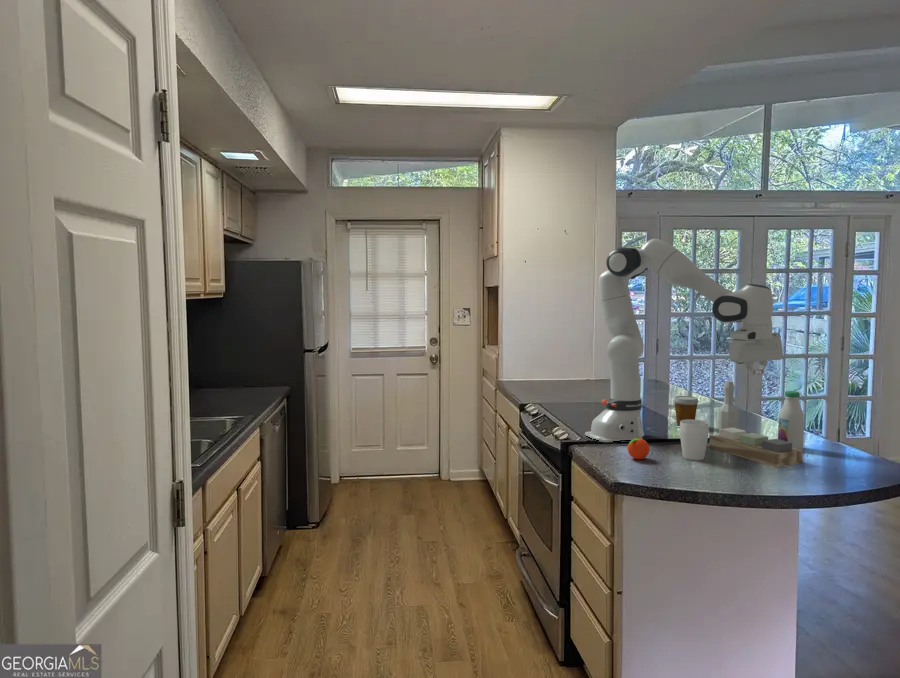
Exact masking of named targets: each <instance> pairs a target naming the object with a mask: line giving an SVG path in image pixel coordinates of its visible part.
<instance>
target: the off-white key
mask: <svg viewBox="0 0 900 678" xmlns="http://www.w3.org/2000/svg"><path fill="white" fill-rule="evenodd" d="M747 433H748V432H747V430H745V429H744V430H743V429H740V428H737V429H736V428H725V429H720V430H719V435H720V437H723V438H727V439H731V440H739V439H740V435H741V434H747Z"/></svg>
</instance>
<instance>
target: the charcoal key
mask: <svg viewBox="0 0 900 678" xmlns="http://www.w3.org/2000/svg"><path fill="white" fill-rule="evenodd" d="M762 449H766V450H770V451H773V452H777V453H781V452H788V451H792V443H791V442H787V441H783V440H779V439H778V438H771V439H768V440H763V441H762Z"/></svg>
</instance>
